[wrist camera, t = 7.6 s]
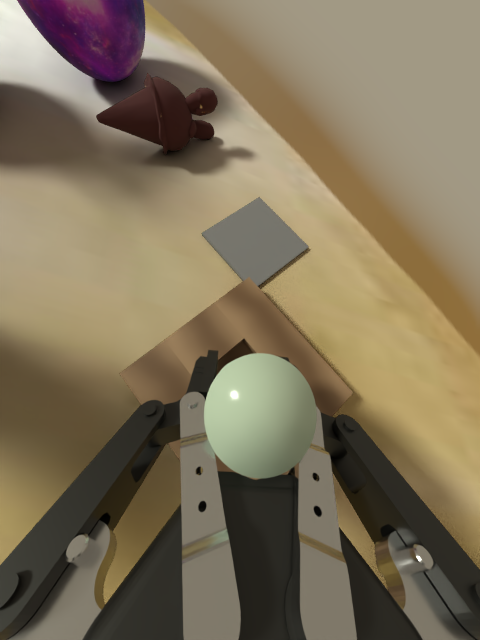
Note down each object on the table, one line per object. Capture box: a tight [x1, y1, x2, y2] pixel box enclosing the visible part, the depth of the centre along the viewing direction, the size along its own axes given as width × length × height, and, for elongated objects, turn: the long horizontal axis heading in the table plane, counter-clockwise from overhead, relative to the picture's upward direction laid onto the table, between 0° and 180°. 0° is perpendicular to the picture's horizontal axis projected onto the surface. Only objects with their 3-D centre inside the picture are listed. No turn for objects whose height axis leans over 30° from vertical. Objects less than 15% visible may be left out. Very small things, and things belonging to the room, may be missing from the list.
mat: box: [202, 197, 309, 286], centre depth 24 cm, size 10×10×1 cm
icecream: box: [96, 73, 218, 155], centre depth 24 cm, size 7×7×15 cm
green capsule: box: [204, 353, 317, 478], centre depth 13 cm, size 4×4×12 cm
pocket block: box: [119, 277, 353, 480], centre depth 18 cm, size 16×16×2 cm
